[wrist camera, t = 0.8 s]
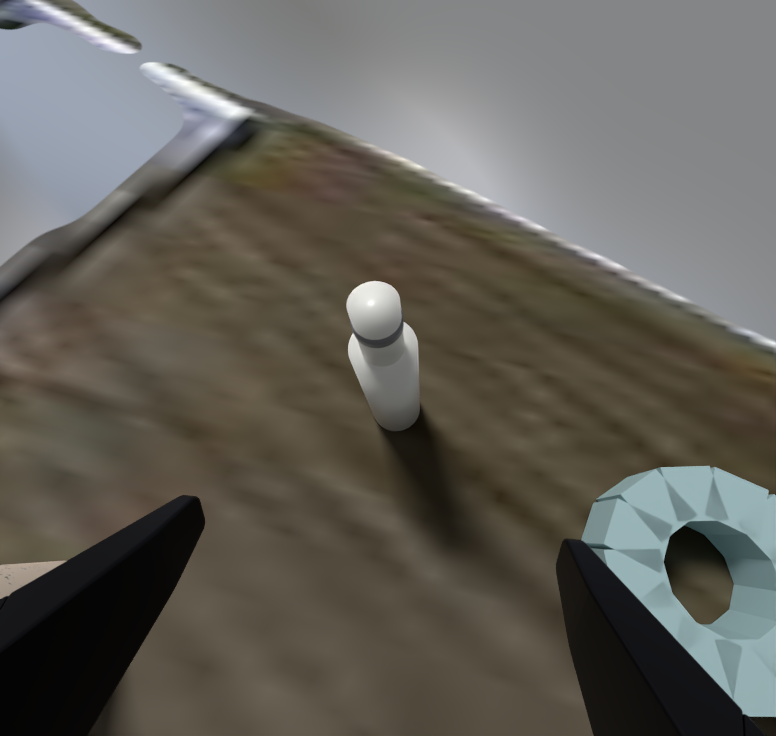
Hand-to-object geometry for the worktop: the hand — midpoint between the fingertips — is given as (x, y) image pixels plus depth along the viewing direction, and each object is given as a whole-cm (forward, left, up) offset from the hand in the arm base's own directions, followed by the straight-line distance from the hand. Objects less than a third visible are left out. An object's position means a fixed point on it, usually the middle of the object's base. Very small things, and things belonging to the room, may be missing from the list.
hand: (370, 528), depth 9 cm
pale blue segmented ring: (+6, -14, -14) cm, 21 cm away
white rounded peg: (+7, +4, -14) cm, 16 cm away
